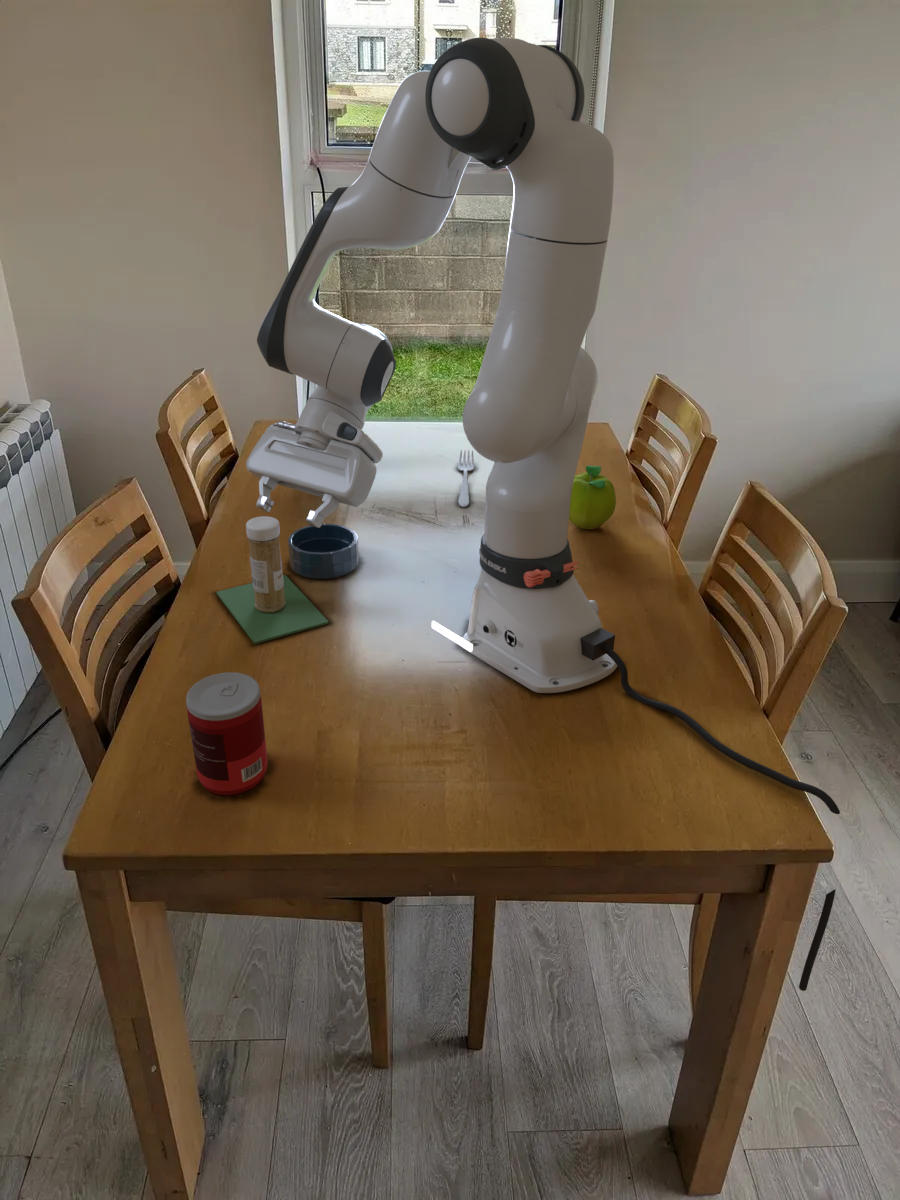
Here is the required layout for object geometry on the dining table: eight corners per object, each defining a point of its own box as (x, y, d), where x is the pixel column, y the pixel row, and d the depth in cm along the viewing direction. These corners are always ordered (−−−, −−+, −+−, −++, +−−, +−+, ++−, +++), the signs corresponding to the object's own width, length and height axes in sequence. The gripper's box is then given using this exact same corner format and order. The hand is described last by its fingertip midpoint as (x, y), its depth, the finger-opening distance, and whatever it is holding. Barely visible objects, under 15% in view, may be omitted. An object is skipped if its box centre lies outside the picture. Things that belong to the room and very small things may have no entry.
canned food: (272, 750, 106) (264, 671, 101) (263, 797, 100) (253, 715, 94) (205, 750, 106) (194, 671, 101) (191, 798, 99) (178, 716, 94)
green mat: (328, 623, 131) (328, 621, 131) (254, 644, 126) (254, 642, 126) (285, 576, 143) (285, 574, 142) (216, 594, 138) (216, 591, 137)
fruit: (611, 515, 164) (617, 462, 159) (614, 538, 156) (620, 483, 151) (559, 512, 165) (563, 460, 160) (559, 535, 157) (564, 480, 152)
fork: (454, 506, 166) (454, 497, 165) (458, 458, 187) (458, 449, 186) (472, 507, 166) (472, 498, 165) (474, 458, 187) (474, 450, 186)
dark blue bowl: (370, 570, 145) (369, 544, 143) (306, 586, 140) (304, 560, 138) (340, 543, 153) (339, 518, 151) (279, 557, 148) (277, 532, 146)
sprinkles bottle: (291, 608, 134) (284, 524, 127) (261, 617, 131) (253, 531, 125) (278, 595, 137) (270, 512, 130) (249, 603, 135) (240, 519, 128)
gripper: (261, 408, 136) (220, 491, 133) (372, 435, 126) (331, 525, 124) (284, 428, 141) (245, 509, 139) (392, 456, 131) (353, 543, 129)
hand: (286, 517), depth 131 cm, fingers open, 8 cm apart
